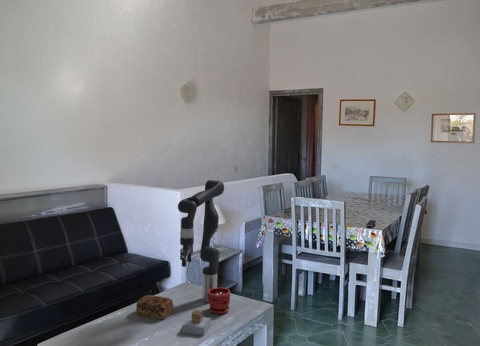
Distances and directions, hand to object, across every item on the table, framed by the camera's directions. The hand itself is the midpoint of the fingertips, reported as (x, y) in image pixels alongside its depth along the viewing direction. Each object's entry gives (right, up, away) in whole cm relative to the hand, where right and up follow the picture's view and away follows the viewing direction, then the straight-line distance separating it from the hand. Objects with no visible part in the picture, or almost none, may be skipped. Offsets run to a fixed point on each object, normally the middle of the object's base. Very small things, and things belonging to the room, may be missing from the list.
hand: (186, 264), depth 219 cm
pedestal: (+7, -31, -13) cm, 35 cm away
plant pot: (+18, -30, +10) cm, 36 cm away
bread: (-19, -30, +4) cm, 36 cm away
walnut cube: (+7, -27, -13) cm, 31 cm away
